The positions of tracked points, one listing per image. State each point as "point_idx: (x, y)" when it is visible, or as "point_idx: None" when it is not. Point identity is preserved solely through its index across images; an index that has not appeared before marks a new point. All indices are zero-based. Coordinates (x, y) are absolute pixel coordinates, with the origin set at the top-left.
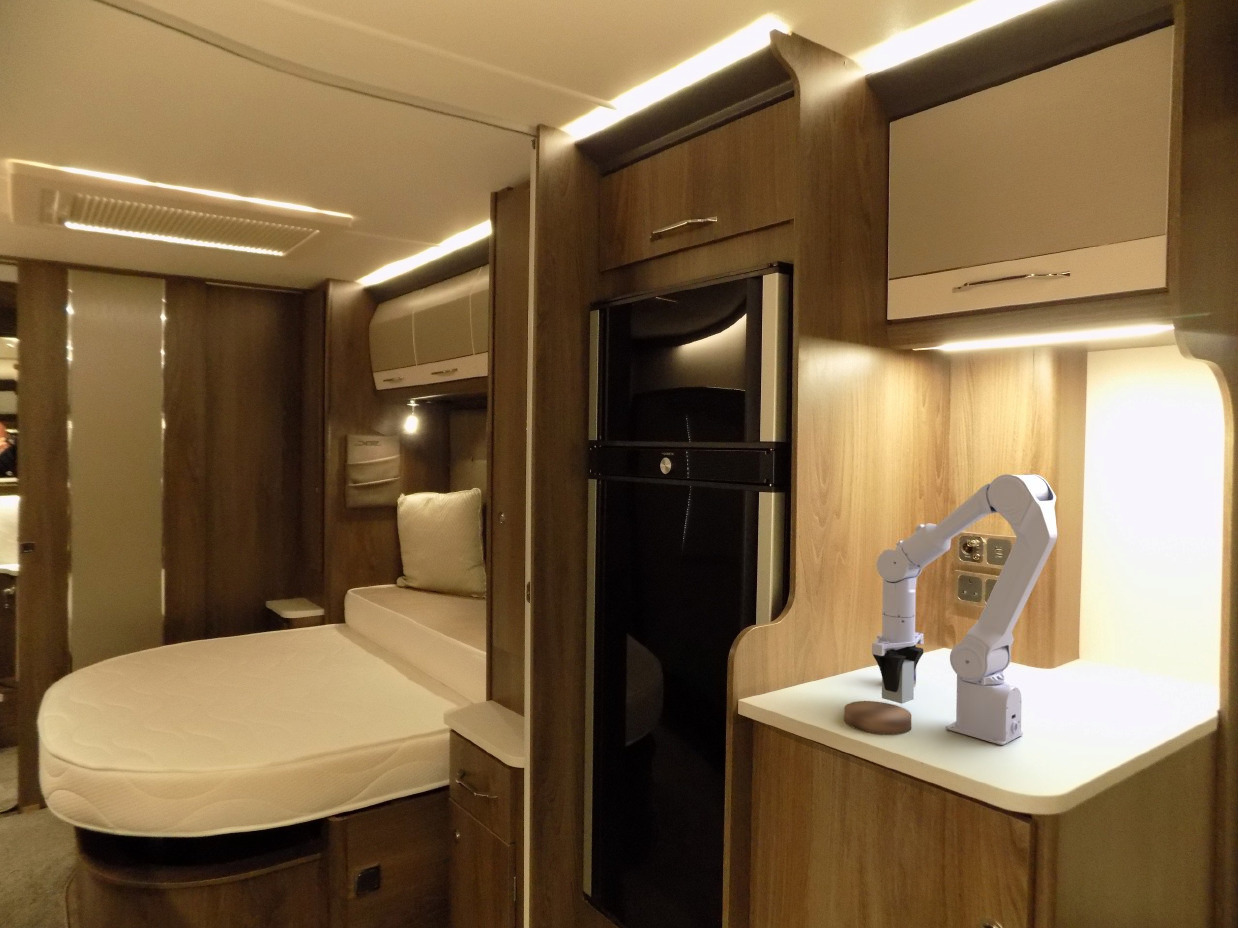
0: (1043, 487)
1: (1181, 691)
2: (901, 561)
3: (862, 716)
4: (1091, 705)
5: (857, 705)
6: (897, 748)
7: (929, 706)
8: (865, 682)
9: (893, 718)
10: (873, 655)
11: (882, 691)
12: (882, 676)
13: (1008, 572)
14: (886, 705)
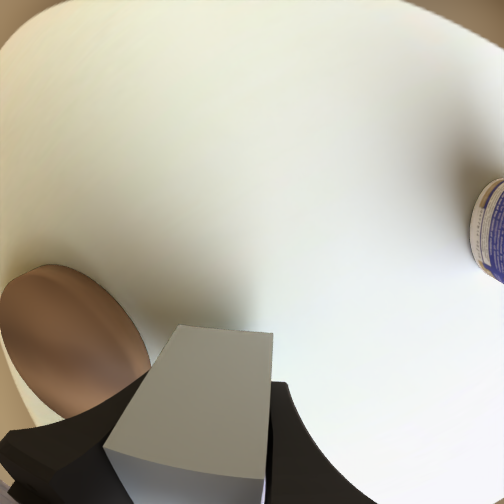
0: None
1: None
2: None
3: (13, 345)
4: (486, 480)
5: (40, 304)
6: (35, 405)
7: (330, 398)
8: (441, 104)
9: (61, 404)
10: (11, 433)
11: (169, 341)
12: (116, 395)
13: None
14: (111, 371)
